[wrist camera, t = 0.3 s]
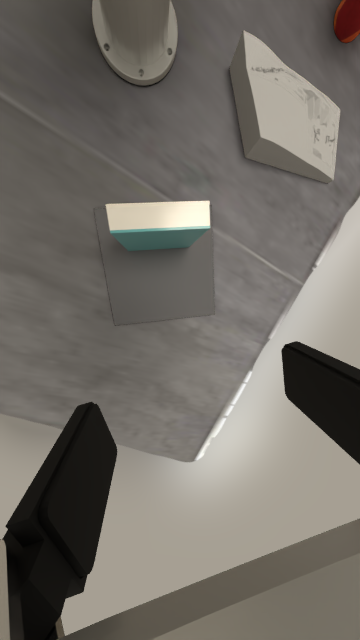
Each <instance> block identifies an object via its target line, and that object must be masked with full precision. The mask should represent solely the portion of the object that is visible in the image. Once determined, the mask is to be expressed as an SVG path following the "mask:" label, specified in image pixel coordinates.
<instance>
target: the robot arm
mask: <svg viewBox="0 0 360 640" xmlns="http://www.w3.org/2000/svg"><path fill="white" fill-rule="evenodd" d="M92 20H93V25H94V30H95V35H96V38H97V42H98V45H99V47H100V50H101V52H102V54H103V56H104V58H105V59H106V61H107V63H108V64H109V65H110V67H111V68H112V69H113V70H114V71H115V72H116V73H117V74H118V75H119V76H120V77H122V78H123V79H125V80H127V81H128V82H130V83H133V84H136V85H151V84H154V83H156V82H158V81H160V80H161V79H162V78H164V77H165V75H166V74H167V73H168V72H169V70H170V68H171V66H172V65H173V62H174V59H175V56H176V50H177V40H178V27H177V19H176V14H175V11H174V8H173V5H172V2H171V0H93V1H92ZM282 362H283V374H284V385H285V394H286V396H287V398H288V399H289V400H290V401H291V402H292V403H293V404H294V405H295V406H296V407H298V408H299V409H300V410H301V411H302V412H303V413H304V414H305V415H306V416H307V417H308V418H310V419H311V420H312V421H313V422H314V423H315V424H316V425H317V426H318V427H319V428H321V429H322V430H323V431H324V432H325V433H326V434H327V435H328V436H329V437H330V438H332V439H333V440H334V441H335V442H336V443H337V444H338V445H339V446H340V447H341V448H342V449H343V450H345V451H346V452H347V453H348V454H349V455H350V456H351V457H352V458H353V459H355V460H356V461H357V462H358V463H359V464H360V369H357V368H355V367H353V366H351V365H349V364H347V363H344V362H342V361H340V360H338V359H335V358H333V357H331V356H329V355H326V354H324V353H322V352H320V351H318V350H316V349H313V348H311V347H309V346H307V345H305V344H302V343H300V342H292V343H289V344H285V346H284V348H283V349H282ZM116 457H117V447H116V444H115V442H114V440H113V438H112V435H111V433H110V431H109V429H108V426H107V424H106V422H105V420H104V417H103V415H102V413H101V411H100V408H99V406H98V405H97V404H94V403H93V402H89V403H86V404H82V405H79V406H77V408H76V409H75V411H74V413H73V414H72V416H71V418H70V419H69V421H68V423H67V424H66V426H65V428H64V429H63V431H62V433H61V434H60V436H59V438H58V439H57V441H56V443H55V444H54V446H53V448H52V449H51V451H50V453H49V454H48V456H47V458H46V460H45V461H44V463H43V465H42V466H41V468H40V470H39V471H38V473H37V474H36V476H35V478H34V479H33V481H32V483H31V485H30V486H29V488H28V490H27V491H26V493H25V495H24V496H23V498H22V500H21V501H20V503H19V505H18V506H17V508H16V510H15V511H14V513H13V515H12V516H11V518H10V520H9V521H8V523H7V525H6V527H7V528H8V531H7V532H6V534H5V536H4V538H3V539H0V640H360V519H357V520H355V521H352V522H350V523H347V524H344V525H342V526H339V527H337V528H334V529H331V530H329V531H326V532H324V533H321V534H318V535H316V536H313V537H311V538H308V539H306V540H303V541H301V542H298V543H296V544H293V545H290V546H288V547H285V548H283V549H280V550H278V551H275V552H272V553H270V554H268V555H265V556H262V557H260V558H257V559H255V560H252V561H250V562H247V563H244V564H242V565H239V566H237V567H234V568H232V569H229V570H227V571H224V572H222V573H219V574H216V575H214V576H211V577H209V578H207V579H204V580H201V581H199V582H196V583H194V584H191V585H189V586H187V587H184V588H181V589H179V590H177V591H174V592H171V593H169V594H166V595H164V596H162V597H159V598H157V599H154V600H151V601H149V602H146V603H144V604H142V605H139V606H136V607H134V608H131V609H129V610H127V611H124V612H121V613H119V614H116V615H114V616H111V617H109V618H107V619H104V620H102V621H99V622H97V623H95V624H92V625H90V626H88V627H86V628H83V629H81V630H78V631H76V632H74V633H71V634H70V635H67V636H65V634H64V630H63V625H62V620H61V613H62V609H63V606H64V602H65V599H66V598H69V597H72V596H74V595H77V594H80V593H82V592H83V591H84V587H85V583H86V578H87V575H88V574H90V572H91V570H92V568H93V565H94V561H95V556H96V551H97V547H98V542H99V537H100V533H101V528H102V523H103V518H104V514H105V509H106V504H107V500H108V495H109V489H110V485H111V480H112V476H113V471H114V467H115V462H116Z"/></svg>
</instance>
